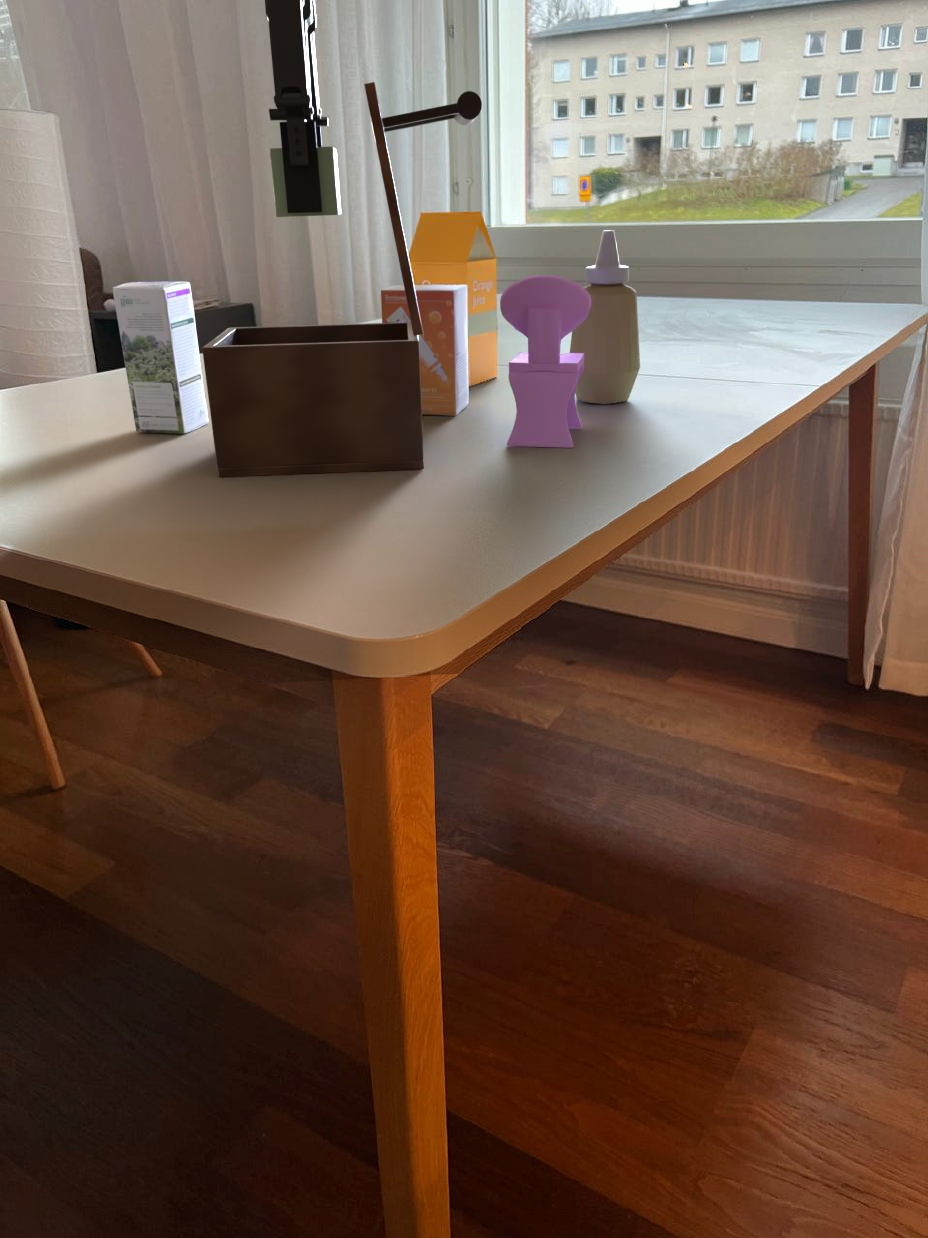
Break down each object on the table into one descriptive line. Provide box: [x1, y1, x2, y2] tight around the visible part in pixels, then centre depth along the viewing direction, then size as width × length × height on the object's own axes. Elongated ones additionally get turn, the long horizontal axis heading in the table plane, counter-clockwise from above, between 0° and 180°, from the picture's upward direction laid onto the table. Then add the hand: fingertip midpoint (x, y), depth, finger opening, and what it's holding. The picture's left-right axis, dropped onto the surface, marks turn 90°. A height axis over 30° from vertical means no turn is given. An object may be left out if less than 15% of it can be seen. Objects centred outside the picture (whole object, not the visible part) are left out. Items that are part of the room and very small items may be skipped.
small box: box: [380, 284, 470, 417], centre depth 104 cm, size 8×6×13 cm
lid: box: [363, 81, 483, 336], centre depth 81 cm, size 18×14×9 cm
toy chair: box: [499, 274, 591, 449], centre depth 90 cm, size 8×9×15 cm
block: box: [268, 146, 342, 218], centre depth 79 cm, size 5×5×5 cm
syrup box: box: [111, 281, 210, 435], centre depth 98 cm, size 6×6×14 cm
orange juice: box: [408, 211, 499, 387], centre depth 120 cm, size 8×9×20 cm
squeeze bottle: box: [569, 229, 641, 404], centre depth 106 cm, size 8×8×18 cm
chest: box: [201, 322, 425, 478], centre depth 87 cm, size 18×14×11 cm
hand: (308, 211), depth 80 cm, fingers closed on block, 5 cm apart
